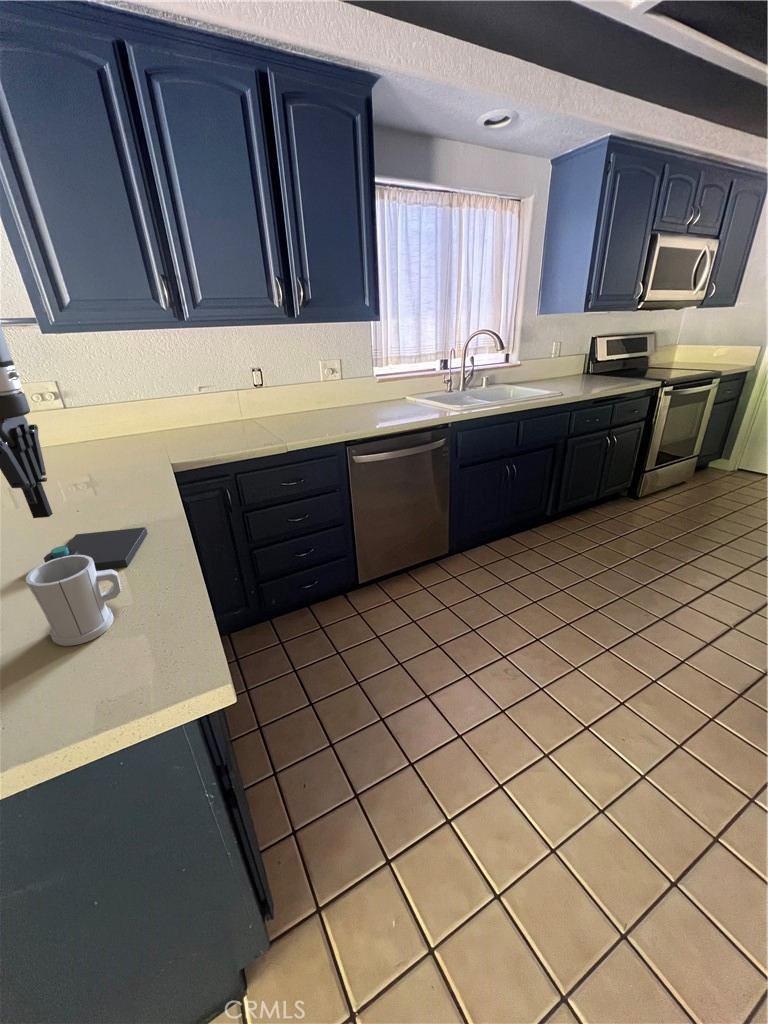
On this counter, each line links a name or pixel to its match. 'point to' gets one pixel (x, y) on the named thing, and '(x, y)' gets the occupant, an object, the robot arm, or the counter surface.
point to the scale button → (59, 552)
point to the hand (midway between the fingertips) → (43, 515)
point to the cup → (73, 598)
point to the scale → (107, 547)
